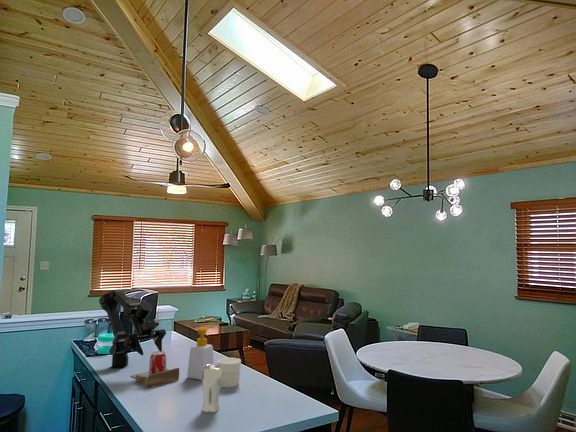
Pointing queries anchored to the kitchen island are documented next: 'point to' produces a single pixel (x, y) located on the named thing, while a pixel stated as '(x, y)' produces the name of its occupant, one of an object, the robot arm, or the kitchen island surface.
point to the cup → (229, 371)
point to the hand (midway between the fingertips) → (152, 352)
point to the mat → (141, 374)
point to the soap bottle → (200, 355)
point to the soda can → (157, 362)
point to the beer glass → (211, 387)
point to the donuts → (105, 338)
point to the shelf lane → (158, 378)
